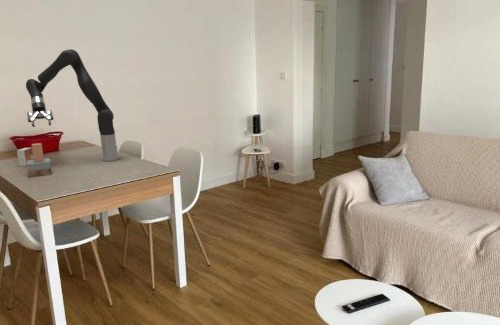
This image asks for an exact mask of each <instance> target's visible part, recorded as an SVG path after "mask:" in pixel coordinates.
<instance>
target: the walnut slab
mask: <svg viewBox="0 0 500 325" xmlns="http://www.w3.org/2000/svg"><path fill="white" fill-rule="evenodd" d="M27 173H28V178H33V177H35V178H36V177H42V176H48V175H49V176H50V175H52V174H53V173H52V167H51V168H50V169H43V170H35V171H28V170H27Z"/></svg>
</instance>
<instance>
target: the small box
mask: <svg viewBox="0 0 500 325" xmlns="http://www.w3.org/2000/svg"><path fill="white" fill-rule="evenodd" d="M16 152H17V153H16V155H17V160H18V167H19V166H21V167H28V165H27V161H29V160H34V158H33V150H32V147H24V148H20V149H17V150H16Z"/></svg>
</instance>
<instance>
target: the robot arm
mask: <svg viewBox="0 0 500 325" xmlns="http://www.w3.org/2000/svg"><path fill="white" fill-rule="evenodd" d="M82 60H83V59H82V58H81V56H80V54H79V53H78V51H76V50H75V49H71V48H70V49H64V50H63V51H61V52H60V54H58V56H57V57H56V59H55V60H54V61H53V62H52V63H51V64H50V65H49V66H47V67H46V68H45V69H44V70H43V71H42V72H40V74H38V76H37V79H38V80H35V79H34V78H29V79H27V81H25V82H26V83H25V88H26V91H27V92H28V94H29V96H30V99H31V102H30V103H31V104H30V105H31V110H32V112H29V111H27V112H26V113H27V114H26V117H27V123H31V127H33V128H35V127H36V126H35V121H37V120H41V119H42V120H43V119H45V120H47V122H48V126H51V125H52V121H54V114H53V110H48V111H47V108H46V104H45V103H46V102H45V100H44V94H43V92H44V90H45V88H46V87H47V85H48V84H49V83H50V82H51V81H53V80H54V79H55V77H56V76H58V74H59V72H60V71H62V70H63V69H65V68H66V67H68V66H71V68H72V69H73V71H74V73H75V74H76V75H75V76H76V80H77V84H78V87H79V89H80V90H81V92H82V93H83V95H84V97H85V98H86V99H87V100H88V101H89V102H90V103H91V104H92V105H93V107H94V109H95V110H96V112H97V126H98V131H99V136H100V144H101V153H102V161H104V162H111V161H112V162H113V161H116V160H119V153H118V146H117V141H116V140H117V138H116V132H115V131H116V130H115V127H114V122H113V121H114V118H115V117H114V113H113V111H112V110H111V109H110V107H109V106H108V104H107V103H106V101H105V100H104V98H103V96H102V94H101V92H100V90H99V88H98V86H97V85H96V83H95V81H94V80H93V78H92V77H91V75H90V74H89V72H88V71H87V68H86V66H85V65H84V62H83V61H82ZM31 117H32V118H31Z"/></svg>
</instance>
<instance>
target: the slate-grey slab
mask: <svg viewBox="0 0 500 325" xmlns="http://www.w3.org/2000/svg"><path fill="white" fill-rule="evenodd" d="M50 168H51V169H52V163H51V159H50V158H49V157H47V158H44V161H40V162H34V160H29V161H27V172H28V171H35V170H43V169H50Z"/></svg>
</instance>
